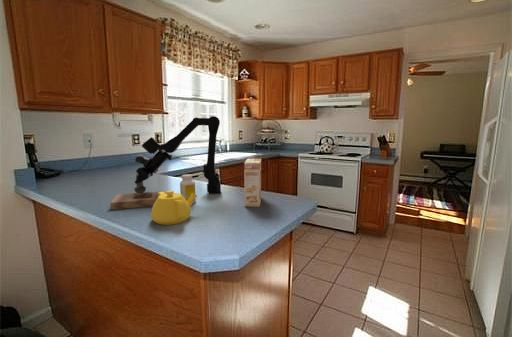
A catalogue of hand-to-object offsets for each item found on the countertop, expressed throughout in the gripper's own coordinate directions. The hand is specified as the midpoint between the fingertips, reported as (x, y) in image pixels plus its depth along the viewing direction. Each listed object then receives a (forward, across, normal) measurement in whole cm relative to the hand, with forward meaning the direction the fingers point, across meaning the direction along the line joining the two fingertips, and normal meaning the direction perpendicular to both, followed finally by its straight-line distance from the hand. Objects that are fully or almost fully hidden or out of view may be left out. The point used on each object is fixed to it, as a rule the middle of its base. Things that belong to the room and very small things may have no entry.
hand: (136, 182), depth 134 cm
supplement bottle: (-15, +16, +25) cm, 33 cm away
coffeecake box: (-36, +19, +46) cm, 61 cm away
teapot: (-14, +36, +24) cm, 46 cm away
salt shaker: (+4, 0, +6) cm, 7 cm away
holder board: (0, +14, +10) cm, 17 cm away
